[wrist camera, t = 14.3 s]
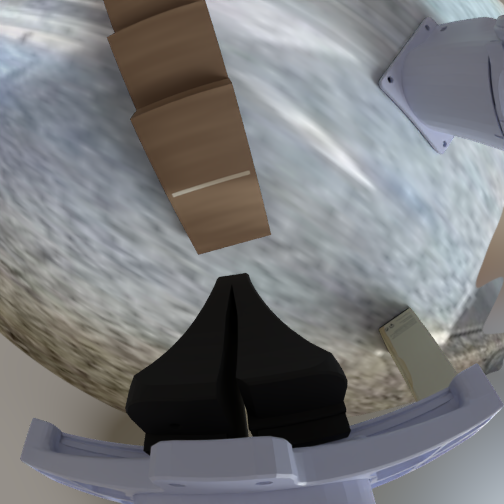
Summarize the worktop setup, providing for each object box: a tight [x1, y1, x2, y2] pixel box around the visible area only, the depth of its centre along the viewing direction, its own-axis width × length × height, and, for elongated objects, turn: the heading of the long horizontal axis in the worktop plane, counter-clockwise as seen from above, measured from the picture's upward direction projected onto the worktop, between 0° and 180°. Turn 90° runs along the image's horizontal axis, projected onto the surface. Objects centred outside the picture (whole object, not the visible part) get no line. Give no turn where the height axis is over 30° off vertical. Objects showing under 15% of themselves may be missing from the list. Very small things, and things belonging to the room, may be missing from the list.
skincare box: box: [379, 308, 457, 402], centre depth 21 cm, size 6×4×12 cm
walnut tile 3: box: [103, 0, 201, 33], centre depth 10 cm, size 2×5×10 cm
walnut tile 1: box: [130, 78, 271, 255], centre depth 15 cm, size 2×5×10 cm
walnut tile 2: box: [107, 0, 228, 110], centre depth 13 cm, size 2×5×10 cm
